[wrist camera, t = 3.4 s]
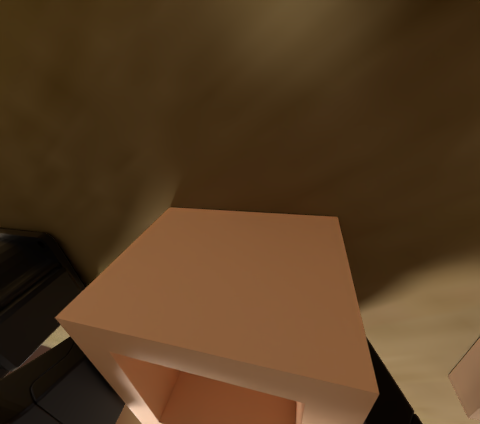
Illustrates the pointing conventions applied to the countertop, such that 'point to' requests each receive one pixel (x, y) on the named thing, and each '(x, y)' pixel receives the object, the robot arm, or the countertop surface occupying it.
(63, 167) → the countertop surface
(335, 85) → the countertop surface
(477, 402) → the post stand
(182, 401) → the collar
